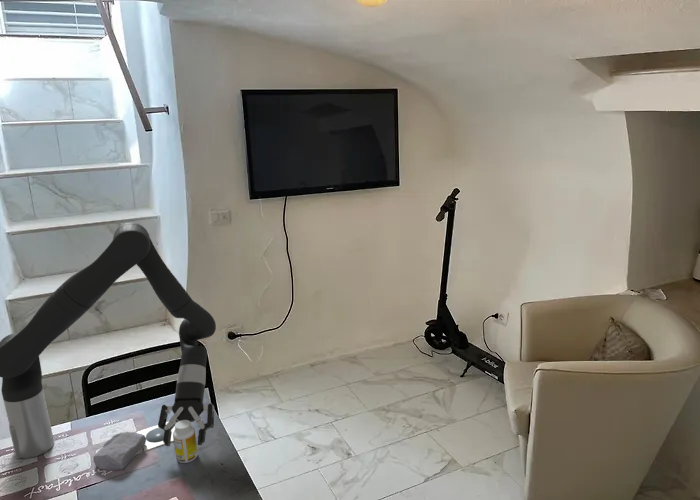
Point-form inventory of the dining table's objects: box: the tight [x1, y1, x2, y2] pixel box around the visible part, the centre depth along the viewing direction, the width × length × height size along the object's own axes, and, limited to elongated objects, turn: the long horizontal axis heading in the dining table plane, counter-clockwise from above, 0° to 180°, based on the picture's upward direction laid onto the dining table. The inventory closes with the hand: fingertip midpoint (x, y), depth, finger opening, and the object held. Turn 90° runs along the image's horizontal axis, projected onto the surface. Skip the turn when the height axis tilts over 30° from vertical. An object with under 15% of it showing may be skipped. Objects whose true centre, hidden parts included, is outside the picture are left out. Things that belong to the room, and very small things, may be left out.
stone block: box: [92, 431, 146, 471], centre depth 143 cm, size 12×5×10 cm
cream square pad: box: [136, 420, 175, 452], centre depth 152 cm, size 10×10×1 cm
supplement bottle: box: [173, 420, 199, 464], centre depth 141 cm, size 6×6×10 cm
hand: (183, 445), depth 140 cm, fingers open, 8 cm apart
